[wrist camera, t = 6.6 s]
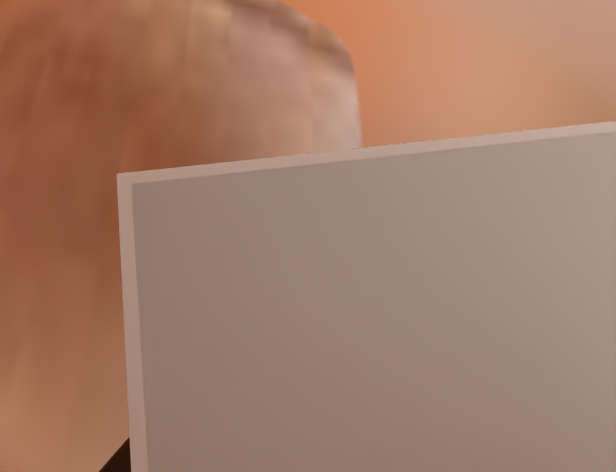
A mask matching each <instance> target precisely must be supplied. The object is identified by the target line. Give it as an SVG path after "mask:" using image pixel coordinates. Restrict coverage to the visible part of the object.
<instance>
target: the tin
mask: <svg viewBox="0 0 616 472" xmlns="http://www.w3.org/2000/svg"><path fill="white" fill-rule="evenodd" d="M116 175H117V195H118V215H119V235H120V255H121V275H122V295H123V316H124V336H125V356H126V376H127V396H128V416H129V436H130V456H131V472H616V121H613V122H603V123H593V124H584V125H575V126H565V127H556V128H546V129H537V130H527V131H517V132H508V133H498V134H489V135H479V136H470V137H460V138H451V139H441V140H432V141H422V142H413V143H403V144H394V145H384V146H375V147H365V148H356V149H346V150H337V151H327V152H318V153H308V154H299V155H289V156H280V157H270V158H261V159H251V160H242V161H232V162H223V163H213V164H204V165H194V166H185V167H175V168H166V169H156V170H147V171H137V172H128V173H118V174H116Z"/></svg>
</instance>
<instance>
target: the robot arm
mask: <svg viewBox="0 0 616 472" xmlns="http://www.w3.org/2000/svg"><path fill="white" fill-rule="evenodd" d="M99 472H131V456H130V437H129V438H128V439H127V440H126V441H125V442H124V444H123V445H122V446H121V447H120V448H119V449H118V450H117V452H116V453H115V454H114V455H113V456H112V457H111V458H110V460H109V461H108V462H107V463H106V464H105V465H104V466H103V468H102V469H101V470H100V471H99Z"/></svg>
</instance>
